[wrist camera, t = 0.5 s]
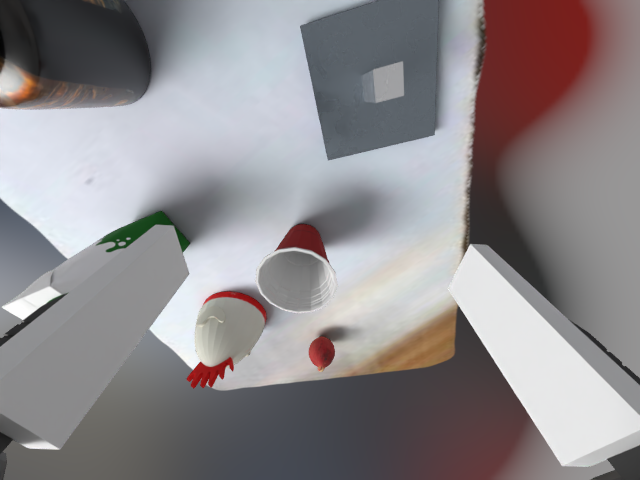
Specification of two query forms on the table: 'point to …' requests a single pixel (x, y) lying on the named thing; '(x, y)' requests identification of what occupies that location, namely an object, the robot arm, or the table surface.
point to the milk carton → (84, 265)
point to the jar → (71, 54)
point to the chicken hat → (225, 334)
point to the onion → (321, 352)
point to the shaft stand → (374, 74)
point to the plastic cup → (297, 273)
